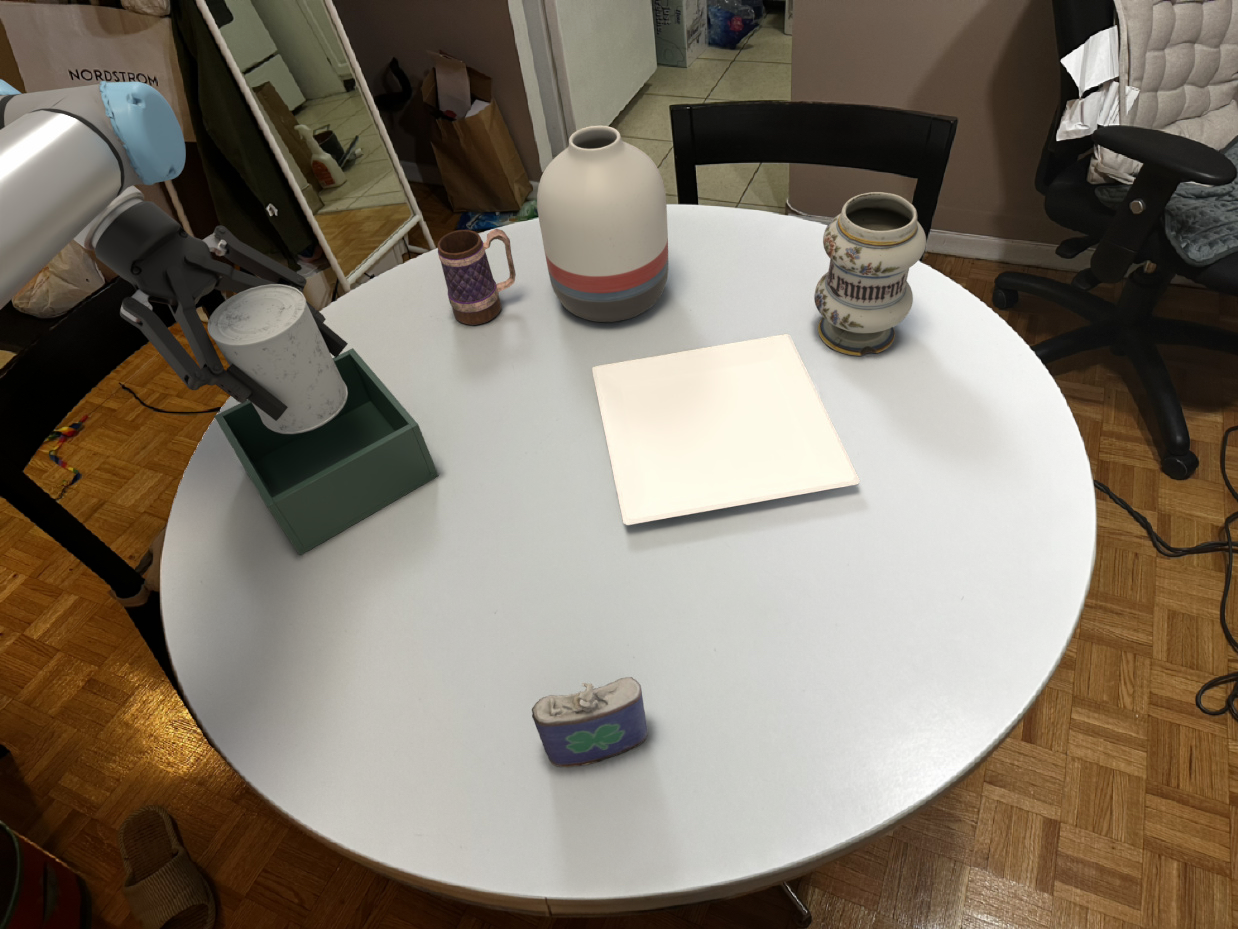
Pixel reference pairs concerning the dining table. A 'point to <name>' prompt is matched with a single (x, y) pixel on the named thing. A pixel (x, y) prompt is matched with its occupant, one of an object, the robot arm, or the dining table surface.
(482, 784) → the dining table surface
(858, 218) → the apothecary jar
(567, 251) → the vase
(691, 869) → the dining table surface
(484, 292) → the mug
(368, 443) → the bin
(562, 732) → the flask
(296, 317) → the white speckled cylinder
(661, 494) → the white flat square slab
